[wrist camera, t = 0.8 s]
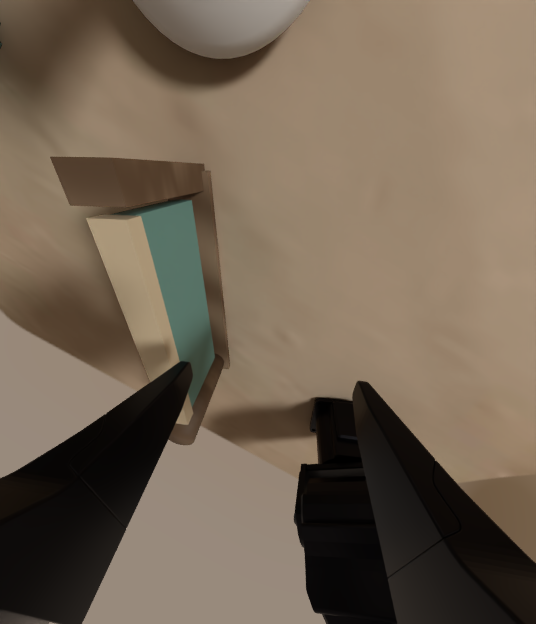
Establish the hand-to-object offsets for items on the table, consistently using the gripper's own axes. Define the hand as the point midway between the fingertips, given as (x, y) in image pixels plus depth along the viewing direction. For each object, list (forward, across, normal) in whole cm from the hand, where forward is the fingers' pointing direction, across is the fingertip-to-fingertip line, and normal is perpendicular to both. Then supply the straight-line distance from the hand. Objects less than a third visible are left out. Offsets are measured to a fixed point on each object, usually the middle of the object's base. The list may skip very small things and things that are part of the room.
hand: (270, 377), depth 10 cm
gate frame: (+11, +7, +2) cm, 13 cm away
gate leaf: (+9, +7, +1) cm, 12 cm away
